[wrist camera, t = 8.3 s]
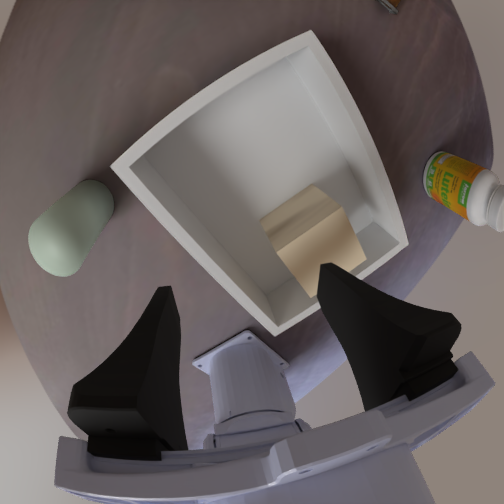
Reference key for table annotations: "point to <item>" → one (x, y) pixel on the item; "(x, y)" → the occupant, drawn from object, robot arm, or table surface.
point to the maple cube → (312, 236)
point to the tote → (264, 174)
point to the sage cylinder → (71, 228)
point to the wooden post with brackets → (390, 5)
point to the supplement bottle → (465, 189)
